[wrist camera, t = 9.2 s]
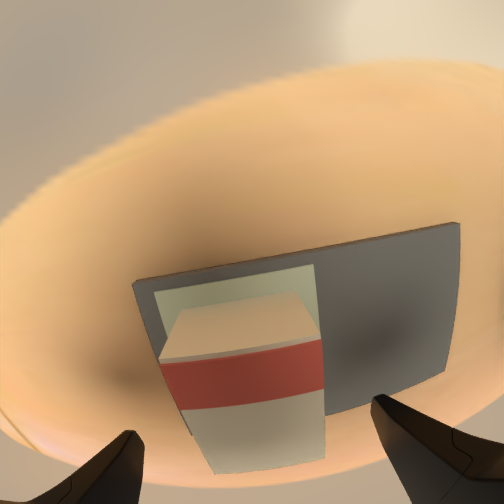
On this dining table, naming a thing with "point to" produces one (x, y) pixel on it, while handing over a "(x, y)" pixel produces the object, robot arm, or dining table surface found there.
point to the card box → (249, 382)
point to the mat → (341, 306)
